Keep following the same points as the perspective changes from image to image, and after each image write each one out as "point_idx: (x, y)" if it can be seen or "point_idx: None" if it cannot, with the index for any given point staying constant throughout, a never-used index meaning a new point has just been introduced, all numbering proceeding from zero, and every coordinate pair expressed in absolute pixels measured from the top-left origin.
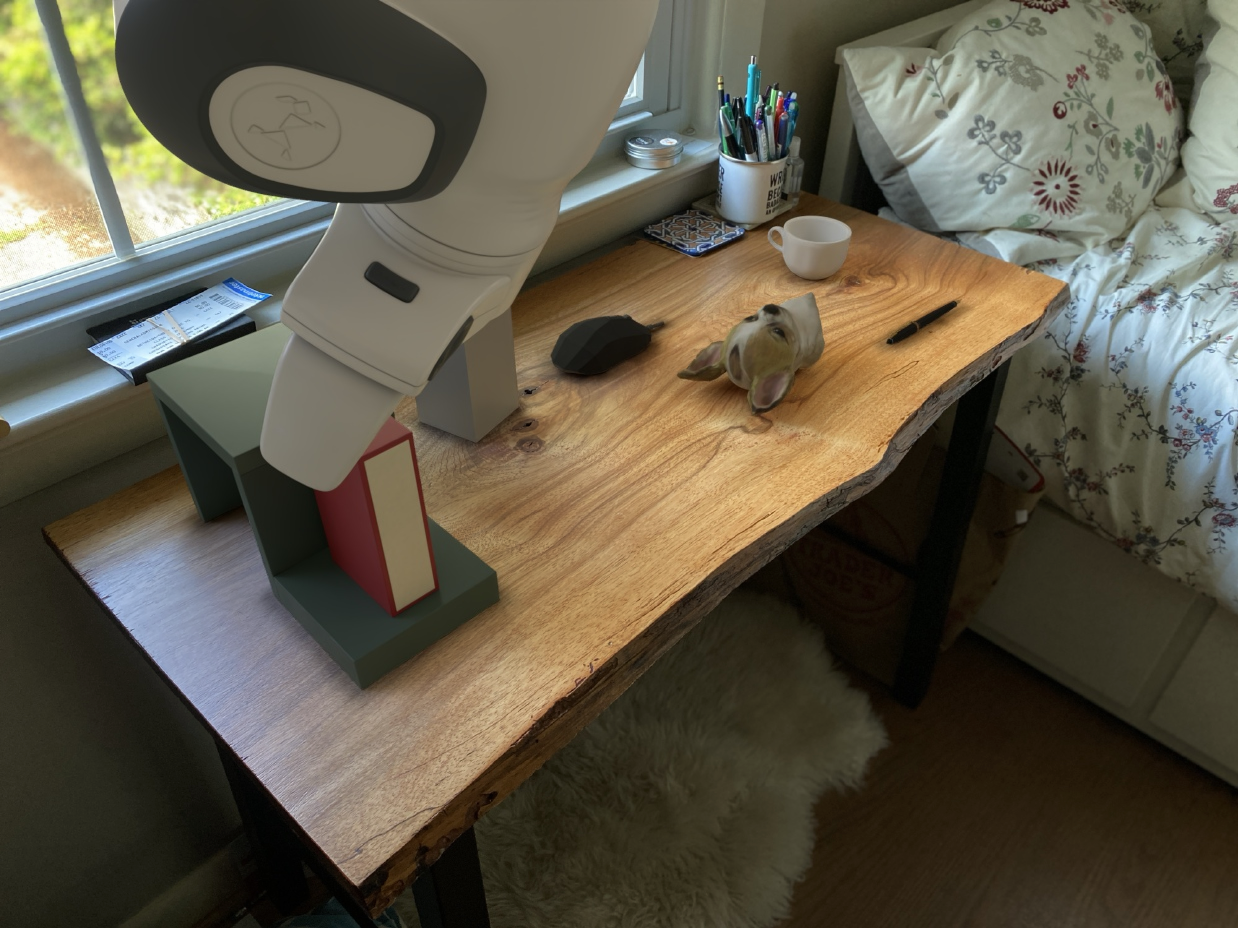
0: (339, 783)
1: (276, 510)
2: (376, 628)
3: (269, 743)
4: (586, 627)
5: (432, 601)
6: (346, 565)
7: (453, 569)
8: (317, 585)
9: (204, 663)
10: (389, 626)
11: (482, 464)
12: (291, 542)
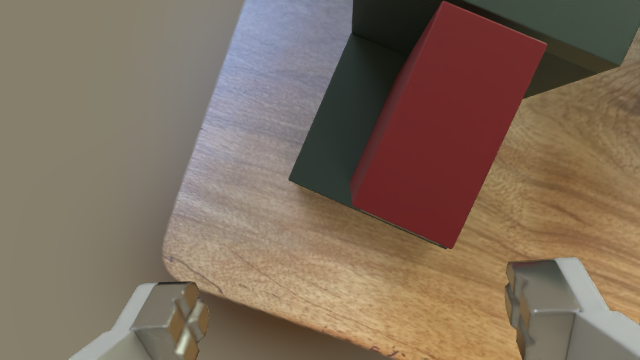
0: (211, 213)
1: (379, 15)
2: (331, 176)
3: (219, 137)
4: (435, 332)
5: None
6: (383, 106)
7: None
8: (358, 85)
9: (264, 25)
10: (337, 186)
11: (633, 118)
12: (381, 35)
